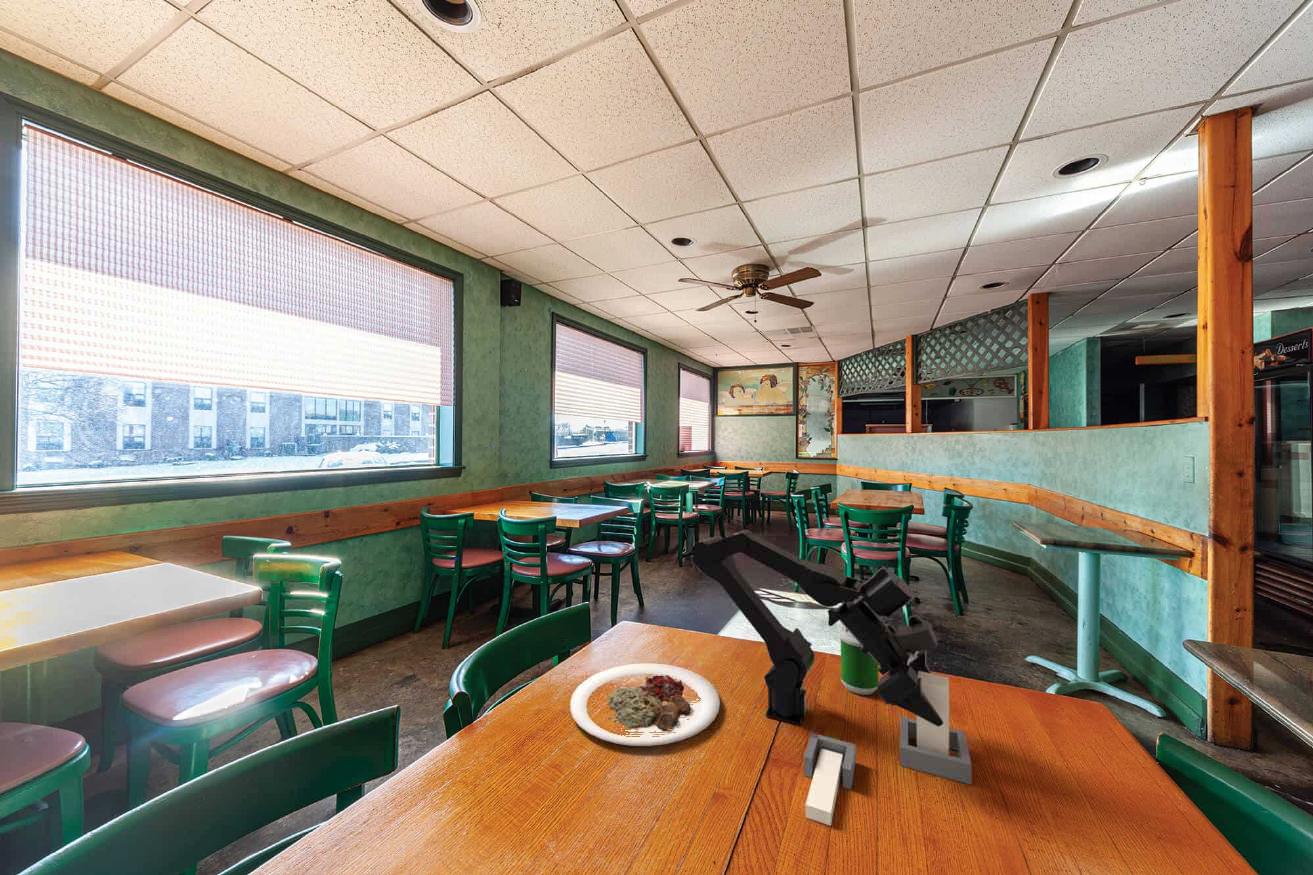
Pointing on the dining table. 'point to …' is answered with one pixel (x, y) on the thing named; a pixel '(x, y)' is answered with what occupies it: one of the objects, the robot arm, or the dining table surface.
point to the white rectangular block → (939, 699)
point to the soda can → (857, 666)
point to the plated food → (649, 704)
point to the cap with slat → (827, 774)
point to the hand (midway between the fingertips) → (942, 711)
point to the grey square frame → (935, 754)
